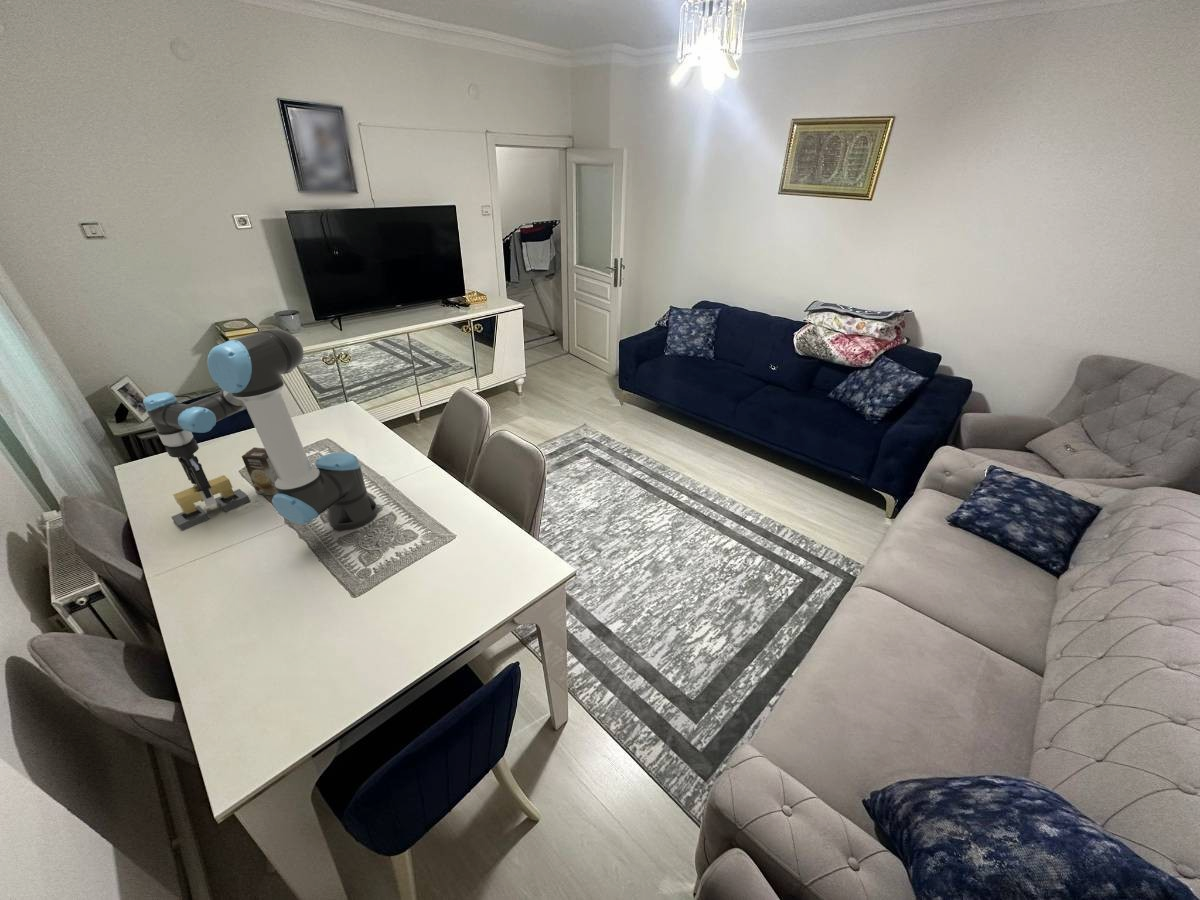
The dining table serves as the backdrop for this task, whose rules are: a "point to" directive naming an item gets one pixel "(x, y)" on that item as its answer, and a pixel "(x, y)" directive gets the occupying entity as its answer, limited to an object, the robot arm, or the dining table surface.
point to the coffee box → (261, 471)
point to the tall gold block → (192, 496)
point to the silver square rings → (203, 516)
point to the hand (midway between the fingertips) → (208, 501)
